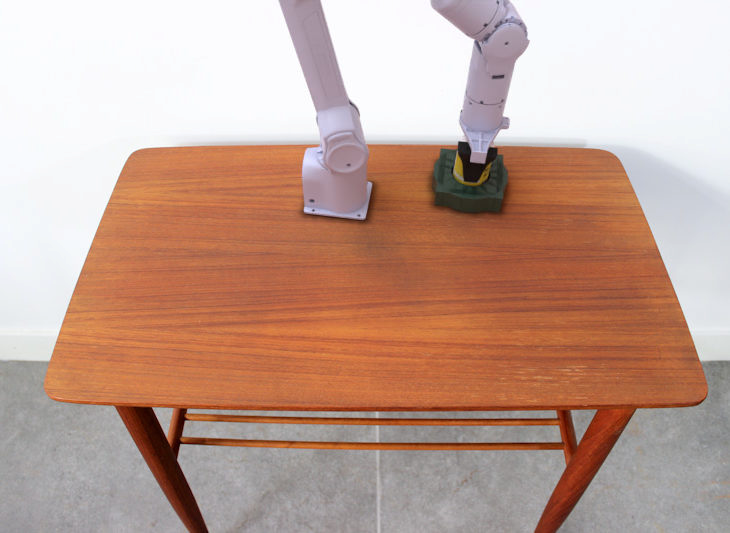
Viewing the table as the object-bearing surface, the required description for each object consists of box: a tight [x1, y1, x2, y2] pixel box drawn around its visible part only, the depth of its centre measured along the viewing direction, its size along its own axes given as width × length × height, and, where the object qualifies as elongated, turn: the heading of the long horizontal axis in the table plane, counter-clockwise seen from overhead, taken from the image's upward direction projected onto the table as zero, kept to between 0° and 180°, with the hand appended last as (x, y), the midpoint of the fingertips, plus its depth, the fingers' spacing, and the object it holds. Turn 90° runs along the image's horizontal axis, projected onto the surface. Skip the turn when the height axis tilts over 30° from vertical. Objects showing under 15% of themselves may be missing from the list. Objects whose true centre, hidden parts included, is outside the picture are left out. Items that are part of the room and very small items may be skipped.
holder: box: [431, 147, 509, 214], centre depth 94 cm, size 11×11×3 cm
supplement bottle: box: [453, 134, 496, 186], centre depth 90 cm, size 5×5×10 cm
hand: (471, 167), depth 92 cm, fingers closed on supplement bottle, 5 cm apart
